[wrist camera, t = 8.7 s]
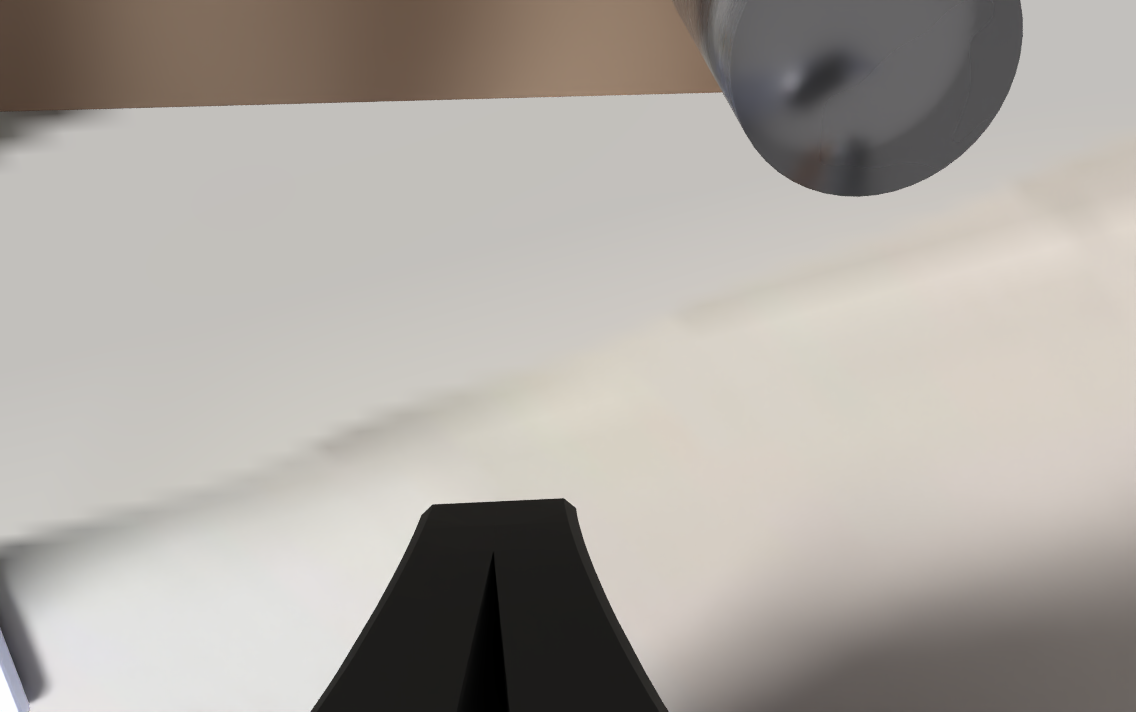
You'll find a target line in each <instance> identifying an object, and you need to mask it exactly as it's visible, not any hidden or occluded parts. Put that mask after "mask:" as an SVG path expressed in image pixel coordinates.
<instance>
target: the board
mask: <svg viewBox="0 0 1136 712" xmlns="http://www.w3.org/2000/svg"><path fill="white" fill-rule="evenodd" d="M713 92H722V90H721V89H720V87H719V85H718V83H717V82H716V80H715V78H714V76H713V74H712V73H711V71H710V69H709V67H708V65H707V64H706V62H705V60H704V58H703V57H702V55H701V53H700V51H699V49H698V48H697V46H696V44H695V42H694V40H693V39H692V37H691V35H690V33H689V32H688V30H687V28H686V26H685V24H684V23H683V21H682V19H681V17H680V15H679V14H678V12H677V10H676V8H675V6H674V4H673V2H672V0H0V112H3V111H40V110H78V109H115V108H153V107H188V106H227V105H261V104H262V105H265V104H301V103H337V102H339V103H340V102H375V101H376V102H377V101H415V100H452V99H489V98H527V97H561V96H562V97H563V96H597V95H598V96H602V95H639V94H675V93H713Z"/></svg>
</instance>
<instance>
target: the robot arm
mask: <svg viewBox="0 0 1136 712" xmlns="http://www.w3.org/2000/svg"><path fill="white" fill-rule="evenodd" d="M29 711H30V707H29V702H28V699H27V697H26V694H25V692H24V689H23V686H22V684H21V681H20V679H19V676H18V673H17V671H16V668H15V666H14V663H13V660H12V658H11V655H10V653H9V650H8V647H7V645H6V642H5V639H4V637H3V634H2V632H1V629H0V712H29ZM311 712H669V711H668V710H667V708H666V707H665V705H664V703H663V702H662V700H661V698H660V697H659V695H658V693H657V692H656V690H655V688H654V686H653V685H652V683H651V681H650V680H649V678H648V676H647V674H646V673H645V671H644V669H643V667H642V665H641V663H640V661H639V660H638V658H637V656H636V654H635V652H634V650H633V648H632V646H631V644H630V643H629V641H628V639H627V637H626V635H625V633H624V631H623V629H622V628H621V626H620V624H619V622H618V620H617V618H616V616H615V614H614V612H613V610H612V608H611V605H610V603H609V601H608V599H607V597H606V595H605V593H604V590H603V588H602V586H601V583H600V581H599V579H598V576H597V574H596V572H595V569H594V567H593V564H592V562H591V559H590V557H589V554H588V551H587V548H586V546H585V543H584V540H583V537H582V533H581V529H580V526H579V522H578V518H577V512H576V508H575V507H574V506H573V505H571V504H570V503H569V502H568V501H566V500H565V499H564V498H562V499H540V500H519V501H498V502H477V503H456V504H435V505H432V506H431V507H430V508H429V509H428V510H426V511H425V512H424V513H423V514H422V515H421V518H420V520H419V523H418V525H417V528H416V530H415V532H414V535H413V537H412V539H411V541H410V543H409V545H408V547H407V550H406V552H405V554H404V556H403V558H402V560H401V562H400V564H399V566H398V568H397V570H396V571H395V573H394V575H393V577H392V579H391V581H390V583H389V585H388V586H387V588H386V590H385V592H384V594H383V596H382V597H381V599H380V601H379V603H378V605H377V607H376V608H375V610H374V612H373V614H372V615H371V617H370V619H369V620H368V622H367V624H366V625H365V627H364V629H363V630H362V632H361V634H360V635H359V637H358V639H357V640H356V642H355V644H354V645H353V647H352V649H351V650H350V652H349V654H348V655H347V657H346V659H345V660H344V662H343V664H342V665H341V667H340V668H339V670H338V672H337V673H336V675H335V676H334V678H333V679H332V681H331V683H330V684H329V686H328V687H327V689H326V690H325V692H324V693H323V694H322V696H321V697H320V699H319V700H318V702H317V703H316V705H315V706H314V708H313V709H312V710H311Z"/></svg>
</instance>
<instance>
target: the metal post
mask: <svg viewBox="0 0 1136 712" xmlns="http://www.w3.org/2000/svg"><path fill="white" fill-rule="evenodd" d="M672 2H673V4H674V6H675V8H676V10H677V12H678V14H679V15H680V17H681V19H682V21H683V23H684V24H685V26H686V28H687V30H688V32H689V33H690V35H691V37H692V39H693V40H694V42H695V44H696V46H697V48H698V49H699V51H700V53H701V55H702V57H703V58H704V60H705V62H706V64H707V65H708V67H709V69H710V71H711V73H712V74H713V76H714V78H715V80H716V82H717V83H718V85H719V87H720V89H721V90H722V92H723V94H724V96H725V98H726V99H727V101H728V103H729V105H730V106H731V108H732V110H733V112H734V114H735V115H736V117H737V119H738V121H739V122H740V124H741V126H742V128H743V130H744V132H745V133H746V135H747V137H748V138H749V139H750V141H751V142H752V144H753V146H754V148H755V149H756V150H757V151H758V152H759V154H760V155H761V156H762V157H763V158H764V159H765V161H766V162H768V163H769V164H770V165H771V166H772V167H773V168H774V169H776V170H777V171H778V172H779V173H781V174H782V175H784V176H786V177H787V178H789V179H790V180H792V181H793V182H796V183H798V184H800V185H802V186H804V187H806V188H809V189H812V190H815V191H819V192H822V193H826V194H833V195H839V196H869V195H879V194H883V193H888V192H893V191H896V190H899V189H902V188H905V187H908V186H911V185H914V184H916V183H918V182H920V181H922V180H924V179H926V178H928V177H930V176H932V175H934V174H935V173H937V172H939V171H940V170H942V169H944V168H945V167H946V166H948V165H949V164H950V163H952V162H953V161H954V160H956V159H957V158H958V157H960V156H961V155H962V154H963V153H964V152H965V151H966V150H967V149H968V148H969V147H970V146H971V145H972V144H973V143H975V142H976V140H977V139H978V138H979V137H980V136H981V134H982V133H983V132H984V131H985V130H986V129H987V127H988V126H989V125H990V123H991V122H992V120H993V119H994V117H995V116H996V114H997V113H998V111H999V110H1000V108H1001V106H1002V104H1003V102H1004V100H1005V98H1006V96H1007V94H1008V92H1009V90H1010V87H1011V84H1012V82H1013V79H1014V76H1015V73H1016V69H1017V66H1018V62H1019V58H1020V53H1021V45H1022V37H1023V32H1022V31H1023V30H1022V29H1023V23H1022V22H1023V19H1022V10H1021V3H1020V0H672Z"/></svg>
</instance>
